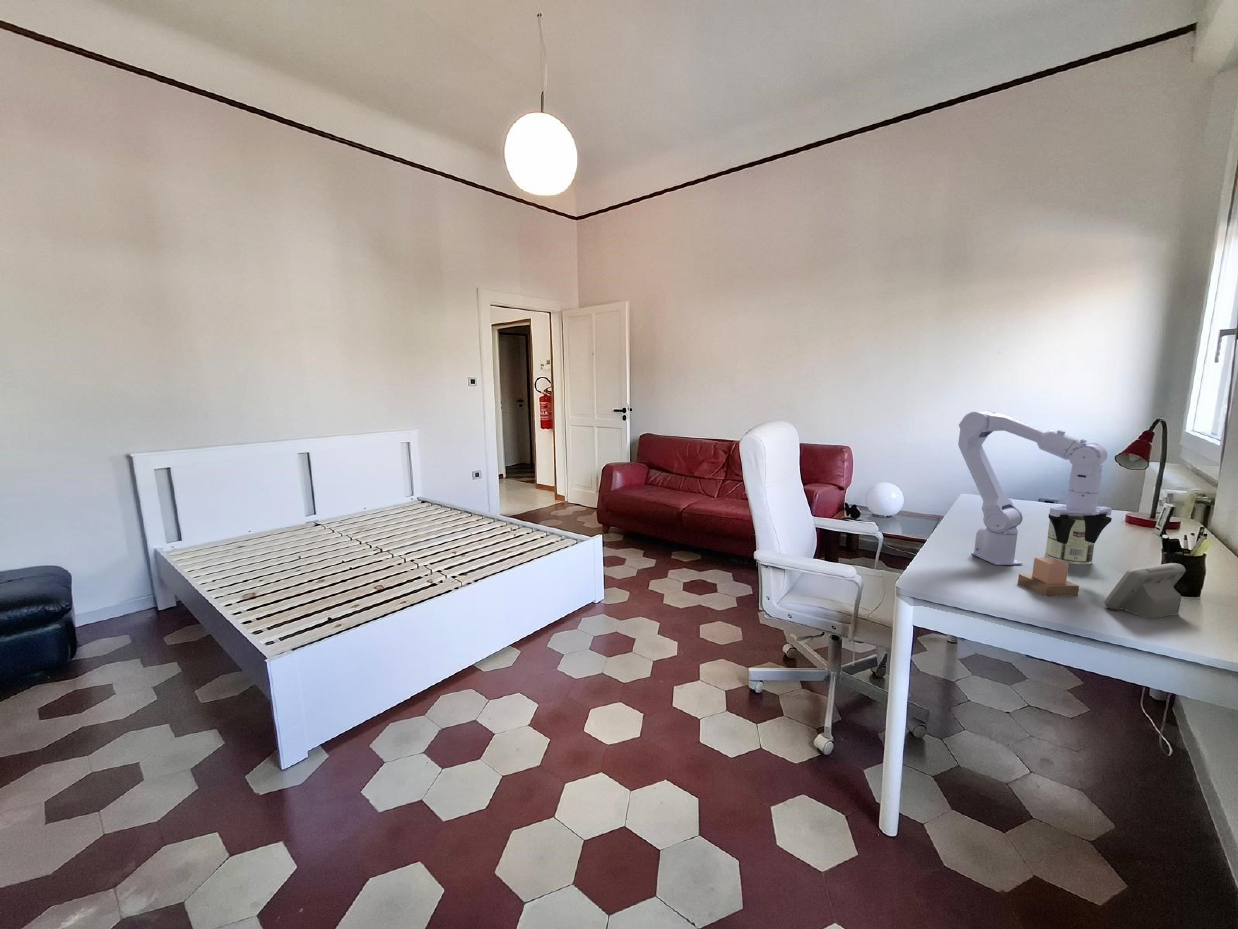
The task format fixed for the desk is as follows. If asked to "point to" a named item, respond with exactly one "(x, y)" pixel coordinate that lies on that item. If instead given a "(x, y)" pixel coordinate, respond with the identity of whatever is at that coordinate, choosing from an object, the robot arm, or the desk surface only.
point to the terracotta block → (1050, 570)
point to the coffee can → (1071, 544)
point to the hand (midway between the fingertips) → (1075, 542)
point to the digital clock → (1148, 591)
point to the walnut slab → (1048, 586)
